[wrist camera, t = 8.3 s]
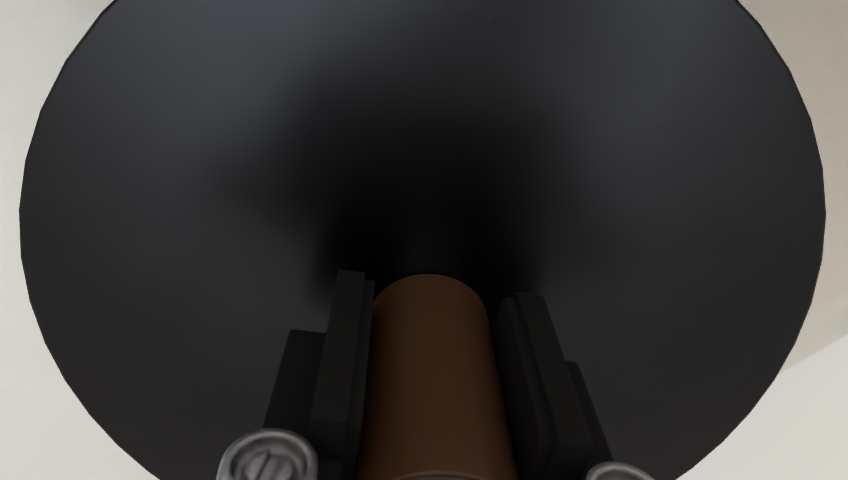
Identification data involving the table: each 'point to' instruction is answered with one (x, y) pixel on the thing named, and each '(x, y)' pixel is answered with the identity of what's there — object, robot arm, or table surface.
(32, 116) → the table surface
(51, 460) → the table surface
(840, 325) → the table surface
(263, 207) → the lid
